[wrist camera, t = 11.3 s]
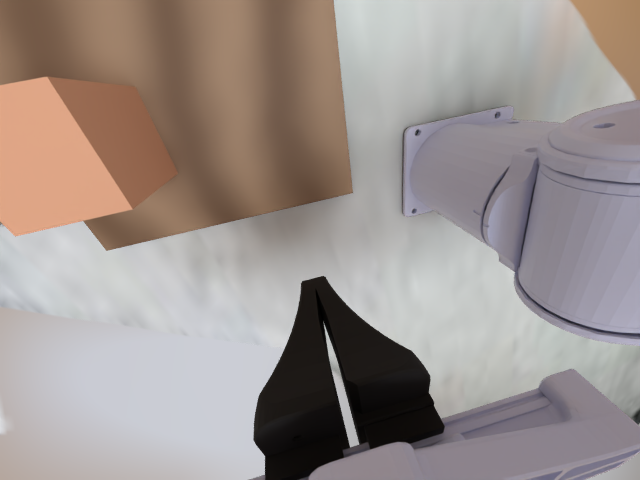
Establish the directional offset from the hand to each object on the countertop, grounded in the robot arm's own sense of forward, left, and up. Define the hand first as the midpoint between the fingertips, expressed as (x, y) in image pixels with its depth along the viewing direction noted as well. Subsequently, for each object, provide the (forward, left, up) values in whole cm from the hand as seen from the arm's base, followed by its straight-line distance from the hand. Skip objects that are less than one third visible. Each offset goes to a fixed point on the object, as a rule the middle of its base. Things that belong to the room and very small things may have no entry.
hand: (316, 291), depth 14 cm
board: (+5, -9, -9) cm, 14 cm away
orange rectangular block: (+10, -9, -8) cm, 16 cm away
